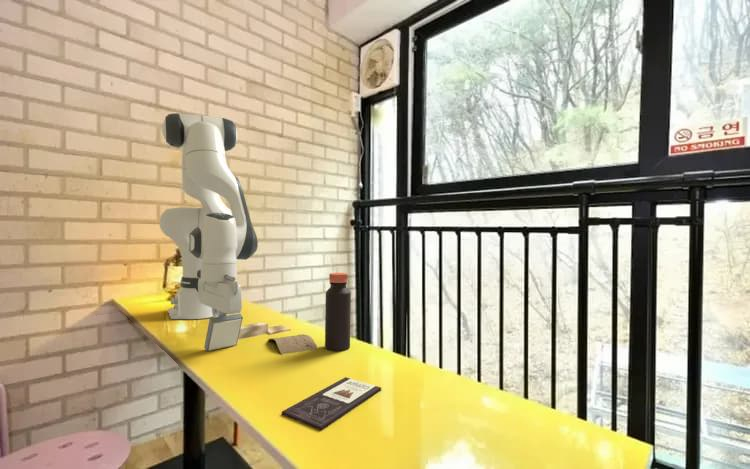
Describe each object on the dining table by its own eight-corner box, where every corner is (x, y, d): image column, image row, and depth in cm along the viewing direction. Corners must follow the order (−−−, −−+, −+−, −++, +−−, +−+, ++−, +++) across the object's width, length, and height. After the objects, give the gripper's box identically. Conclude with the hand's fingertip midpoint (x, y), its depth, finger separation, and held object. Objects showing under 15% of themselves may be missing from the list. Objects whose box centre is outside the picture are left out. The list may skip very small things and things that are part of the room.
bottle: (355, 347, 100) (356, 273, 99) (336, 353, 95) (337, 276, 95) (338, 341, 104) (339, 271, 104) (319, 347, 99) (320, 273, 99)
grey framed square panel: (204, 347, 96) (209, 318, 93) (234, 341, 102) (240, 313, 99) (206, 352, 95) (212, 323, 92) (237, 345, 100) (243, 317, 98)
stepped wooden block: (237, 341, 104) (237, 330, 104) (229, 336, 108) (229, 326, 108) (290, 330, 116) (290, 321, 116) (281, 326, 120) (281, 317, 120)
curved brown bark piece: (266, 343, 104) (266, 333, 104) (300, 337, 110) (300, 328, 110) (282, 358, 92) (282, 348, 92) (319, 352, 98) (319, 342, 97)
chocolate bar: (281, 411, 63) (345, 377, 78) (281, 417, 63) (345, 381, 78) (321, 427, 58) (381, 387, 73) (321, 433, 58) (381, 392, 73)
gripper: (248, 276, 93) (248, 330, 93) (216, 269, 108) (216, 316, 108) (223, 278, 89) (223, 335, 89) (193, 271, 103) (193, 320, 103)
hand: (219, 325), depth 99 cm, fingers closed
